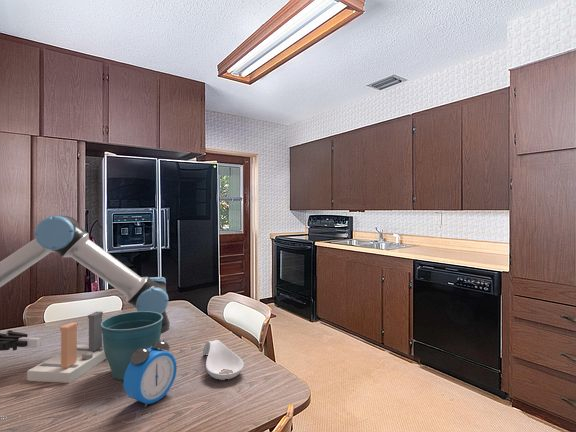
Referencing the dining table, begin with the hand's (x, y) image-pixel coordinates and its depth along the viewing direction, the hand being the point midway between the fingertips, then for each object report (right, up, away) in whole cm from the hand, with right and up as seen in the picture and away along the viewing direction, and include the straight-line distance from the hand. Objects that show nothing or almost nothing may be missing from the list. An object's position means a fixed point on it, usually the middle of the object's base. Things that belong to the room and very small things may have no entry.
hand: (39, 342), depth 102 cm
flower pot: (+29, -10, +2) cm, 31 cm away
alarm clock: (+41, -10, -13) cm, 45 cm away
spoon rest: (+56, -11, +5) cm, 57 cm away
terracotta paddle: (+10, -7, -1) cm, 12 cm away
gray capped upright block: (+11, -7, +11) cm, 17 cm away
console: (+7, -10, +5) cm, 13 cm away
